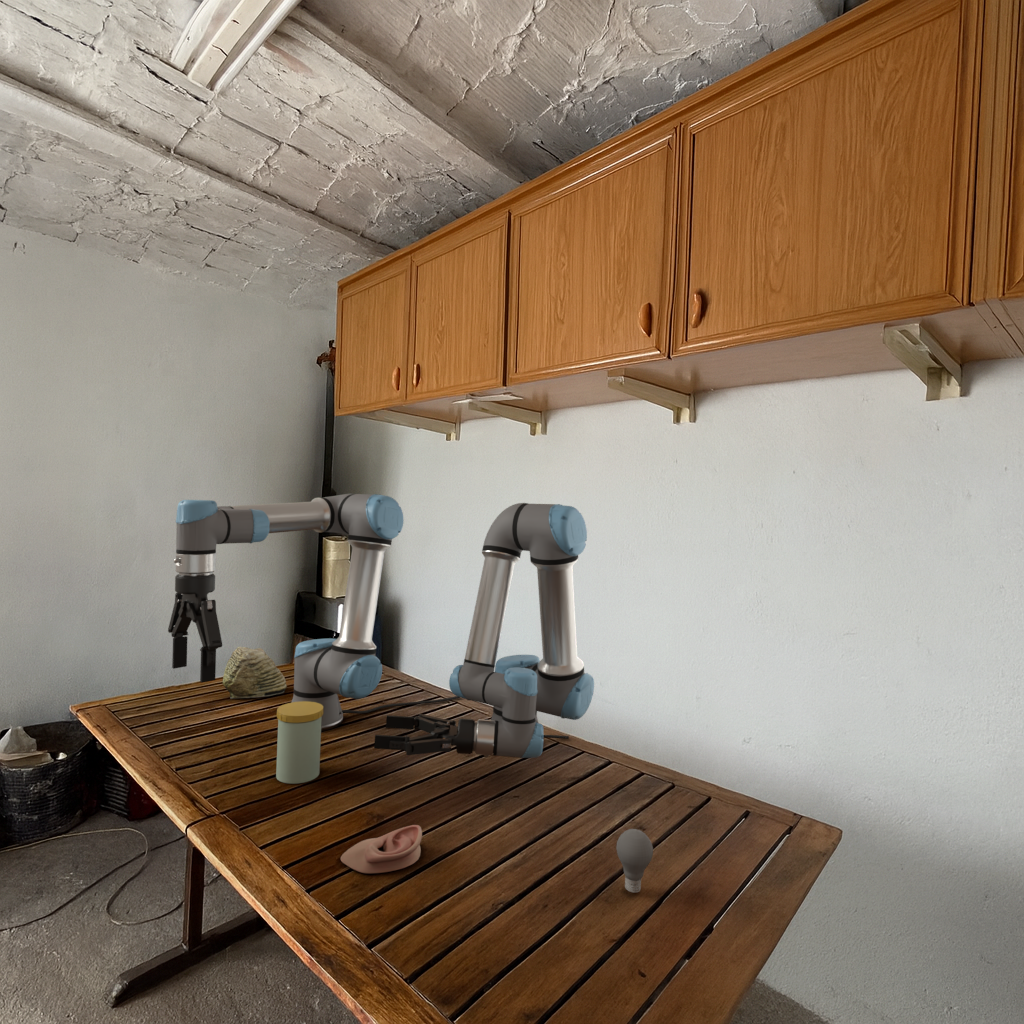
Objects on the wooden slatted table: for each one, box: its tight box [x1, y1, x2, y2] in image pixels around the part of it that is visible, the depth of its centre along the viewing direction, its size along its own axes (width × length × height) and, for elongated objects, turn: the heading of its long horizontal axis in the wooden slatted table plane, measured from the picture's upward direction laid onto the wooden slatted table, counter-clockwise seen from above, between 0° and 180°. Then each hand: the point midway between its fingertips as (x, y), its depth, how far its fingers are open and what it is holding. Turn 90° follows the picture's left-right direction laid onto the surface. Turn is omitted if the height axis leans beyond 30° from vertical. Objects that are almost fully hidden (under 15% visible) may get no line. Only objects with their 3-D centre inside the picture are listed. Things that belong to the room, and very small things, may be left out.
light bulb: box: [615, 828, 654, 894], centre depth 106 cm, size 6×6×10 cm
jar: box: [275, 717, 322, 785], centre depth 144 cm, size 9×9×15 cm
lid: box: [276, 701, 324, 723], centre depth 144 cm, size 10×10×2 cm
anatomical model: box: [340, 824, 423, 874], centre depth 112 cm, size 13×4×12 cm
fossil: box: [222, 646, 288, 699], centre depth 198 cm, size 9×18×15 cm, turn 132°
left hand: (193, 674), depth 133 cm, fingers open, 13 cm apart
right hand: (380, 731), depth 143 cm, fingers open, 13 cm apart
